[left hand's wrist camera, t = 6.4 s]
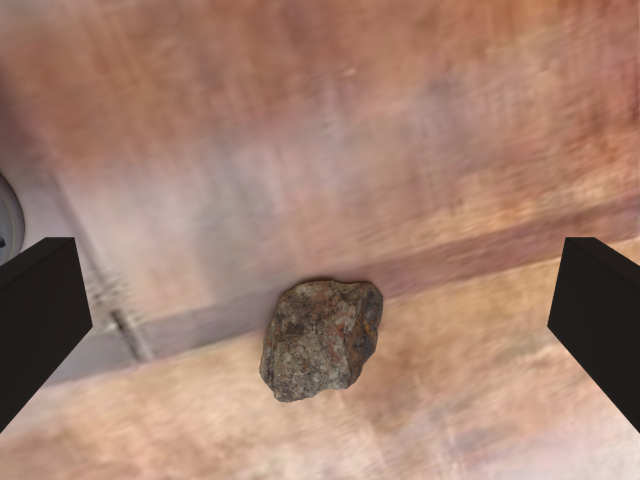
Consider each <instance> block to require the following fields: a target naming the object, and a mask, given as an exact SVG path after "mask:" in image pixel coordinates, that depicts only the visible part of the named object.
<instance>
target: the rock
mask: <svg viewBox="0 0 640 480" xmlns="http://www.w3.org/2000/svg"><path fill="white" fill-rule="evenodd" d="M382 310H383V297H382V295H381V294H380V292H379V291H378V290H377V289H376V288H375V287H374V286H373V285H372V284H370V283H353V284H343V283H339V282H335V281H334V280H332V281H315V282H311V283H309V282H307V283H305V284H299V285H298V286H296V287H294V289H291V290H289V291H287V292H286V293H285V294H284V295H283V296H282V297H281V298H280V299H279V302H278V305H277V307H276V311H275V316H274V318H273V319H272V321H271V324H270V326H269V328H268V331H267V334H266V336H265V338H264V340H263V344H264V346H263V355H262V358H261V364H260V367H259V371H260V374H261V377H262V379H263V381H264V382H265V383H266V384H267V385H268V386H269V388H270V389H271V390H272V391H273V392H274V397H275V398H276V399H277V400H279V401H280V402H292V401H296V400H303V399H305V398H310V397H314V396H315V395H316V394H318V393H319V392H321V391H322V390H325V389H347V388H348V387H349V386H350V385H352V384H353V383H355V382H356V380H357V379H358V377H359V376H360V374H361V371H362V367H363V365H364V363H366V361H367V360H368V359H369V357H370V356H371V355H372V354H373V353H374V352H375V349H376V344H377V339H378V333H377V328H378V326H379V324H380V322H381V315H382Z"/></svg>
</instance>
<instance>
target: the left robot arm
mask: <svg viewBox="0 0 640 480" xmlns="http://www.w3.org/2000/svg"><path fill="white" fill-rule="evenodd" d="M23 237H24V222H23V216H22V212H21V208H20V206H19V203H18V201H17V199H16V196H15V195H14V193H13V191H12V189H11V188H10V186H9V185H8V183H7V182H6V181H5V180H4V178H3V177H2V176H1V175H0V433H1V432H2V431H3V430H4V429H5V428H6V426H7V425H8V424H9V423H10V422H11V421H12V419H13V418H14V417H15V416H16V415H17V414H18V413H19V411H20V410H21V409H22V408H23V407H24V406H25V404H26V403H27V402H28V401H29V400H30V399H31V397H32V396H33V395H34V394H35V393H36V392H37V391H38V389H39V388H40V387H41V386H42V385H43V384H44V382H45V381H46V380H47V379H48V378H49V377H50V376H51V374H52V373H53V372H54V371H55V370H56V369H57V367H58V366H59V365H60V364H61V363H62V362H63V360H64V359H65V358H66V357H67V356H68V355H69V354H70V352H71V351H72V350H73V349H74V348H75V347H76V345H77V344H78V343H79V342H80V341H81V340H82V339H83V337H84V336H85V335H86V334H87V333H88V332H89V330H90V329H91V328H92V327H93V325H92V320H91V315H90V310H89V305H88V301H87V296H86V291H85V286H84V281H83V277H82V272H81V267H80V262H79V257H78V253H77V248H76V243H75V238H74V237H45V238H44V239H42V240H41V241H39V242H37V243H36V244H34V245H33V246H31V247H30V248H28V249H26V250H25V251H23V252H22V253H20V254H19V251H20V249H21V246H22V243H23ZM547 327H548V328H549V329H550V330H551V332H552V333H553V334H554V335H555V336H556V337H557V339H558V340H559V341H560V342H561V343H562V344H563V345H564V347H565V348H566V349H567V350H568V351H569V352H570V354H571V355H572V356H573V357H574V358H575V359H576V360H577V362H578V363H579V364H580V365H581V366H582V367H583V369H584V370H585V371H586V372H587V373H588V374H589V376H590V377H591V378H592V379H593V380H594V381H595V382H596V384H597V385H598V386H599V387H600V388H601V389H602V391H603V392H604V393H605V394H606V395H607V396H608V397H609V399H610V400H611V401H612V402H613V403H614V404H615V406H616V407H617V408H618V409H619V410H620V411H621V413H622V414H623V415H624V416H625V417H626V418H627V419H628V421H629V422H630V423H631V424H632V425H633V426H634V428H635V429H636V430H637V431H638V432H639V433H640V266H639V265H637V264H636V263H634V262H633V261H631V260H629V259H628V258H626V257H625V256H623V255H622V254H620V253H618V252H617V251H615V250H614V249H612V248H610V247H609V246H607V245H606V244H604V243H603V242H601V241H599V240H598V239H596V238H595V237H566V238H565V243H564V248H563V253H562V257H561V262H560V267H559V272H558V277H557V281H556V286H555V291H554V296H553V301H552V305H551V310H550V315H549V320H548V325H547Z"/></svg>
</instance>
